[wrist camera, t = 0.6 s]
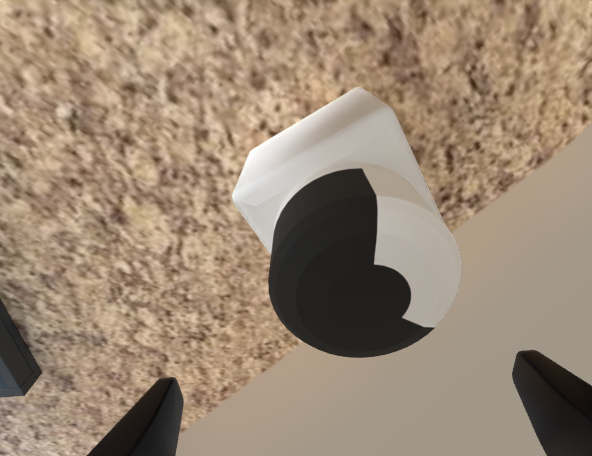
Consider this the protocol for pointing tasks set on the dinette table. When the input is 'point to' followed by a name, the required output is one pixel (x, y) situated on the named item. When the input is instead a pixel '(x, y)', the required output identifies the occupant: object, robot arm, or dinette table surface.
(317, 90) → the dinette table surface
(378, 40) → the dinette table surface
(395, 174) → the medicine bottle
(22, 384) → the tray
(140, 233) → the dinette table surface
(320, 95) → the dinette table surface
